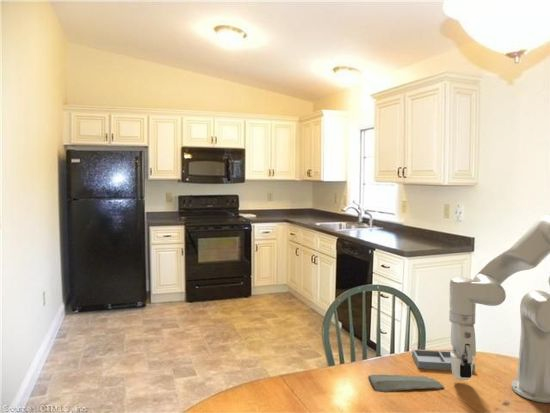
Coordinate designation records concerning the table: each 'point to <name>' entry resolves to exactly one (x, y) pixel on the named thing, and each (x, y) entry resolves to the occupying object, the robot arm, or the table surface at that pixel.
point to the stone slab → (402, 382)
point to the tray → (433, 359)
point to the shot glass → (457, 365)
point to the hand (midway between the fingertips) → (461, 370)
